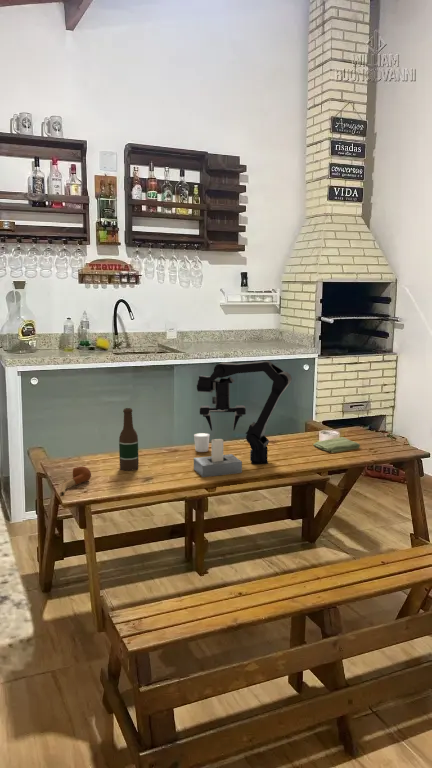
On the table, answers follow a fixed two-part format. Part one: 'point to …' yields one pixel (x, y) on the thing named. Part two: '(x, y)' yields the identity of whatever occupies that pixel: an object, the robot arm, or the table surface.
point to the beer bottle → (128, 443)
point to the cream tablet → (217, 450)
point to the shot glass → (201, 442)
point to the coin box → (217, 466)
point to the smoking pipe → (77, 478)
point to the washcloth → (337, 445)
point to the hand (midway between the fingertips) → (222, 430)
